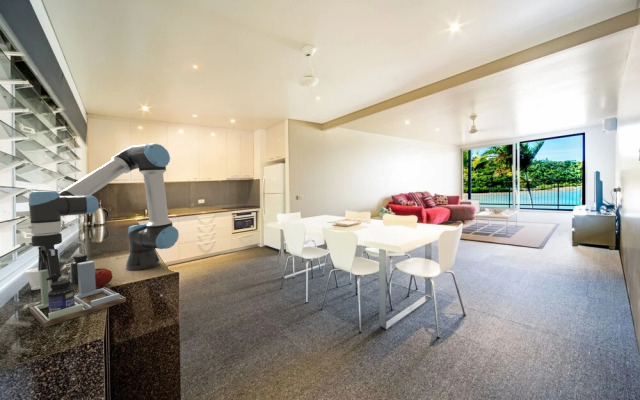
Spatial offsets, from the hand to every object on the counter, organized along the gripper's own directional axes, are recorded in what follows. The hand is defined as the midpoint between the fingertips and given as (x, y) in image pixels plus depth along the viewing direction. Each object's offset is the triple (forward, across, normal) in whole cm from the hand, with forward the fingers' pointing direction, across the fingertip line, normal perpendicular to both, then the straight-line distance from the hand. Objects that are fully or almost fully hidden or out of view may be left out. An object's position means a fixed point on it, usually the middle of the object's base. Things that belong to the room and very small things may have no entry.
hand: (50, 293), depth 94 cm
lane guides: (+4, +10, +5) cm, 12 cm away
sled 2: (+4, +9, +10) cm, 14 cm away
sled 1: (+4, +9, 0) cm, 10 cm away
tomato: (+4, -8, +16) cm, 18 cm away
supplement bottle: (+4, -24, +14) cm, 28 cm away
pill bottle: (+4, +14, 0) cm, 15 cm away
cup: (+4, -31, +2) cm, 31 cm away
